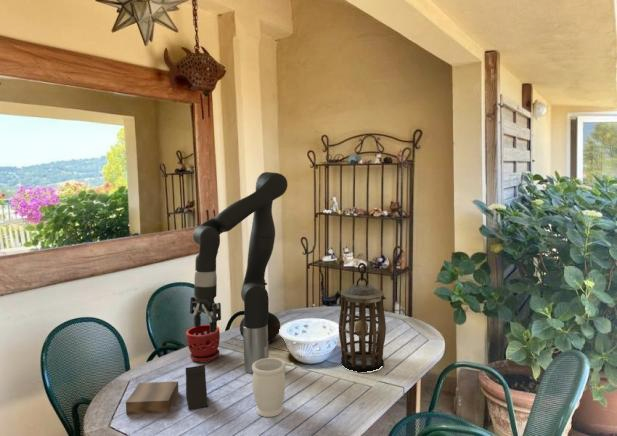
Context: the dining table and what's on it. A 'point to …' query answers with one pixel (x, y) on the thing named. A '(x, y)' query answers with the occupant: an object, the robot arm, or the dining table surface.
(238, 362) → the dining table surface
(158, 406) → the walnut plinth
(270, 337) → the black rounded vessel
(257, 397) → the jar
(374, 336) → the lantern
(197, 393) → the phone stand
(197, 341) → the plant pot
